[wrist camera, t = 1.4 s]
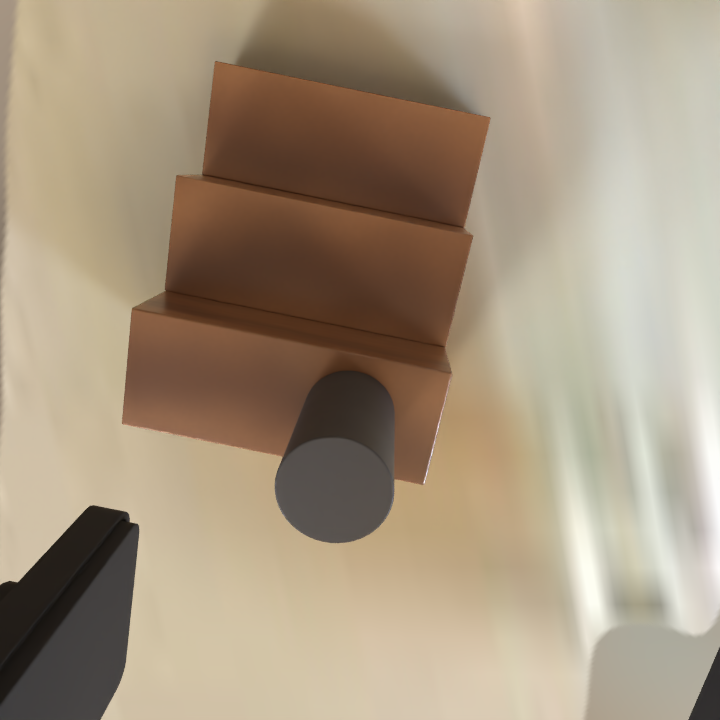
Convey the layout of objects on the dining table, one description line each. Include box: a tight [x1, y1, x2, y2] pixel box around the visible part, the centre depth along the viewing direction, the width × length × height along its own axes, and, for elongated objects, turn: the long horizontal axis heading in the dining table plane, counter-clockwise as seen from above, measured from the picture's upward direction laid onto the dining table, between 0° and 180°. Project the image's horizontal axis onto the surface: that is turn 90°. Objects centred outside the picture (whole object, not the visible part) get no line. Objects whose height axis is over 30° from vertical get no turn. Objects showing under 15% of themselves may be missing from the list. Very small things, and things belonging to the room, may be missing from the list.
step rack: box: [122, 61, 490, 485], centre depth 31 cm, size 16×14×11 cm
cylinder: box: [275, 371, 395, 543], centre depth 24 cm, size 4×4×7 cm
